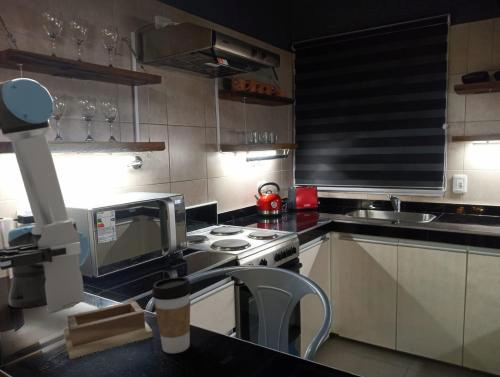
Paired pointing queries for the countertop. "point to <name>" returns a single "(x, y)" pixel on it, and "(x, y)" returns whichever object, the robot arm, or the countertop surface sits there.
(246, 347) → the countertop surface
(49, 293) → the tall pale column
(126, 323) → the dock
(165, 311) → the coffee cup
